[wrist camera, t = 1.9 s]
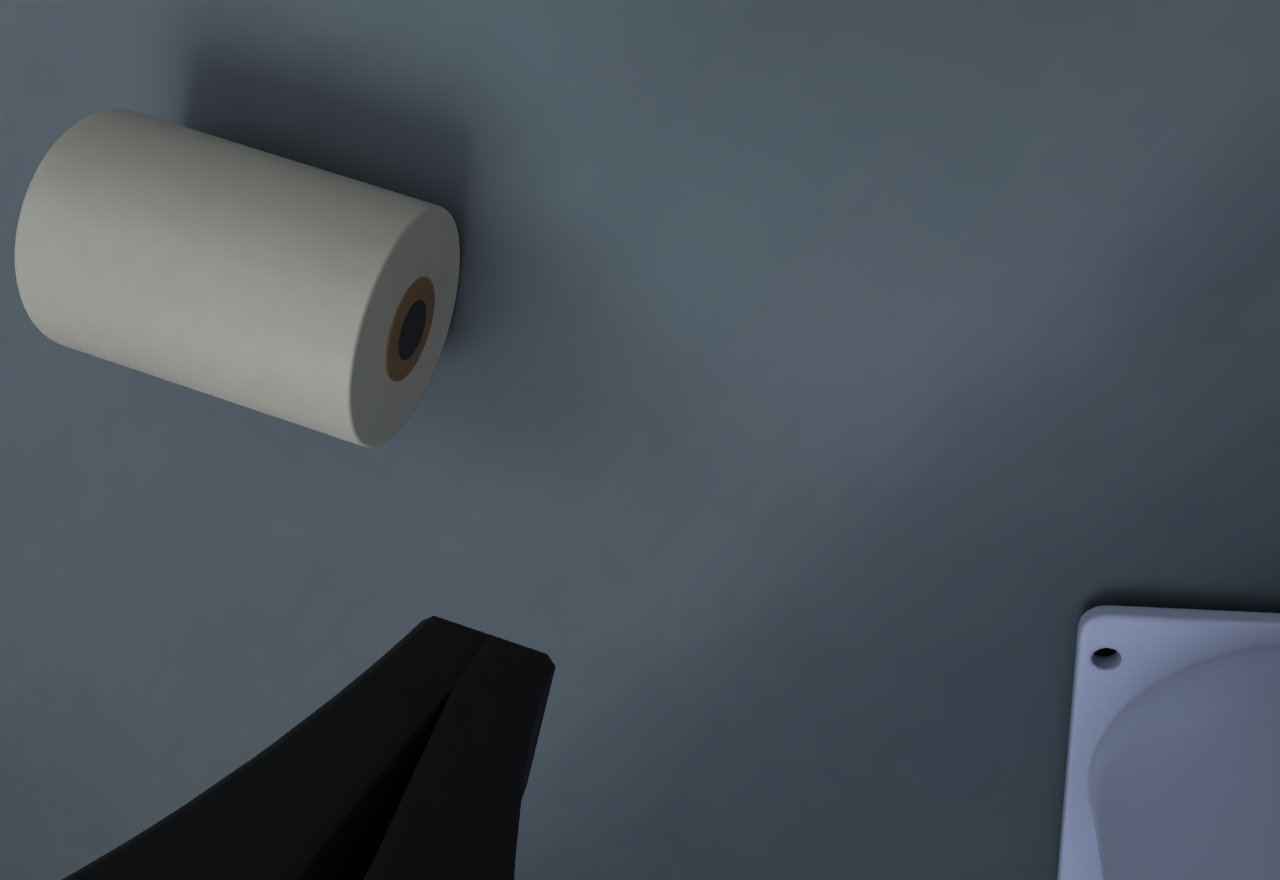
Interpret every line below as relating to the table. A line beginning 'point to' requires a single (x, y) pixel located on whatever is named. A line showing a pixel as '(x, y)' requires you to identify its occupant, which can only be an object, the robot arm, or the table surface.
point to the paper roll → (238, 273)
